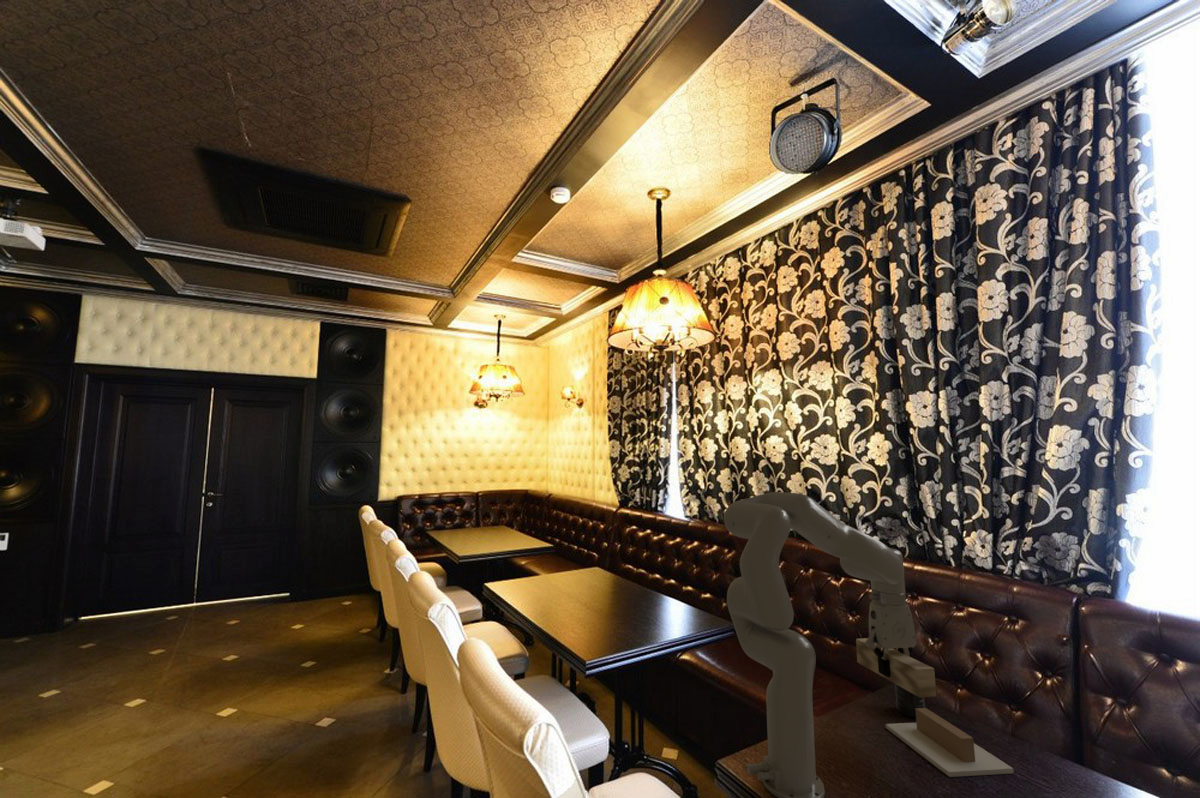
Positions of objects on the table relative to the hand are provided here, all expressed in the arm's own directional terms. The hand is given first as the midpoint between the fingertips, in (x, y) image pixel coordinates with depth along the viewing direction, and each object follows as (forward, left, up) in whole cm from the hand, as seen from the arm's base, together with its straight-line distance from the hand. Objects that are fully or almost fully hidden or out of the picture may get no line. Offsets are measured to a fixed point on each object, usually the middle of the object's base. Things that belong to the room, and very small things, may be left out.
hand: (893, 673), depth 118 cm
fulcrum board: (+12, -1, -17) cm, 21 cm away
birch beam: (0, 0, -1) cm, 1 cm away
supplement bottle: (+17, +16, -17) cm, 29 cm away
